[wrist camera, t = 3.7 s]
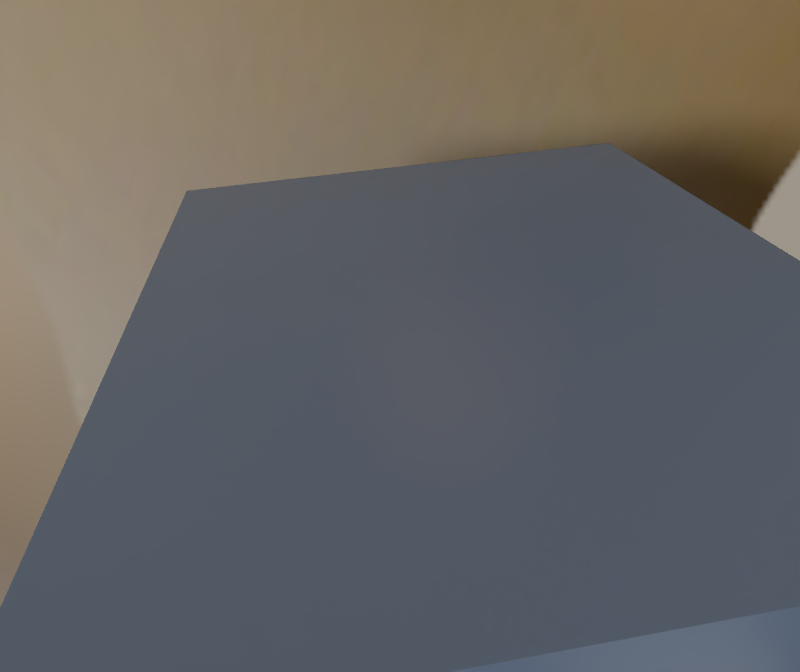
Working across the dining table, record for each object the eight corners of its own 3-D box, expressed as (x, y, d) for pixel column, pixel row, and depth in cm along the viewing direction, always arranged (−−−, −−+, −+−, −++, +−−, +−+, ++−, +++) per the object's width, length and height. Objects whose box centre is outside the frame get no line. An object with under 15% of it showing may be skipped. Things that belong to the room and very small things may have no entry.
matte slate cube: (570, 445, 15) (822, 899, 8) (270, 492, 15) (244, 1034, 7) (609, 142, 11) (1224, 526, 4) (186, 191, 10) (-73, 771, 3)
